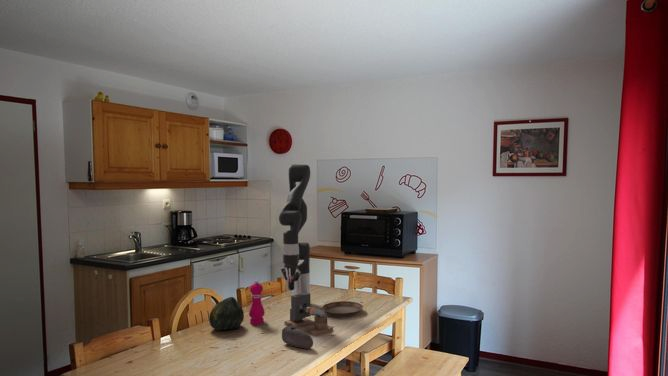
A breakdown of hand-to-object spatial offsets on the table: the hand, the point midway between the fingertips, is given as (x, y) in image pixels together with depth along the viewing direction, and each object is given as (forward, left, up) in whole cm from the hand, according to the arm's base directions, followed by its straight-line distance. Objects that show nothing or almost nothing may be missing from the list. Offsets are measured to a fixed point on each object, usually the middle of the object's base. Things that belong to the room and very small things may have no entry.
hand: (291, 289), depth 207 cm
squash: (-14, -26, -15) cm, 33 cm away
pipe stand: (+12, 0, -15) cm, 19 cm away
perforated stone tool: (+26, -18, -15) cm, 35 cm away
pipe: (+12, 0, -9) cm, 15 cm away
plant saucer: (+7, +27, -16) cm, 32 cm away
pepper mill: (-11, -12, -15) cm, 22 cm away
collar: (+7, 0, -12) cm, 14 cm away
